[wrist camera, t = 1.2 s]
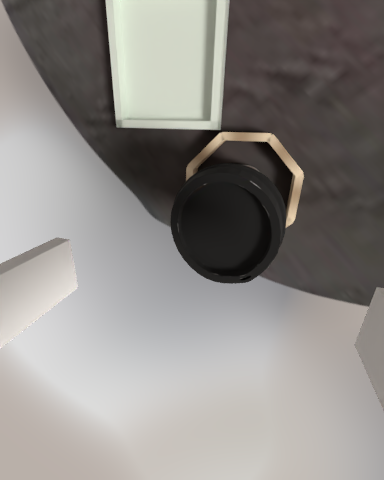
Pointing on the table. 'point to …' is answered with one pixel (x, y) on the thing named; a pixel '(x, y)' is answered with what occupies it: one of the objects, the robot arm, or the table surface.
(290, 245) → the table surface
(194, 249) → the coffee cup
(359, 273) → the table surface
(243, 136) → the holder ring
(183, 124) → the tray
